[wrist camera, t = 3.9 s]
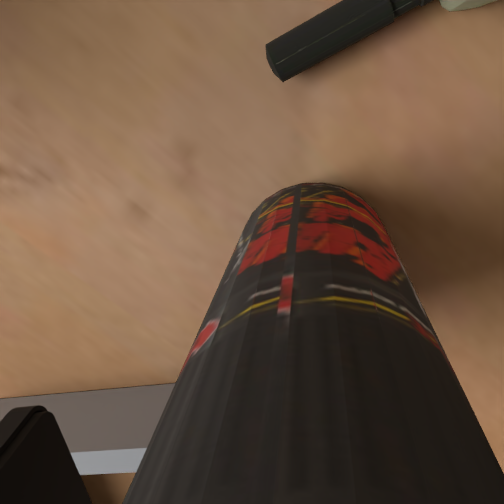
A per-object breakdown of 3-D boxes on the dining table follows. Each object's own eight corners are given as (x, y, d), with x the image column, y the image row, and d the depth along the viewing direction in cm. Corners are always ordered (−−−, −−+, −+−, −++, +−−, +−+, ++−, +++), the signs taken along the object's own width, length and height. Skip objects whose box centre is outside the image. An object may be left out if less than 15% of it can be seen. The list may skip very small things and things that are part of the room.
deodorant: (418, 267, 18) (807, 952, 4) (300, 343, 20) (274, 984, 6) (326, 150, 17) (407, 533, 3) (210, 243, 18) (-96, 749, 5)
